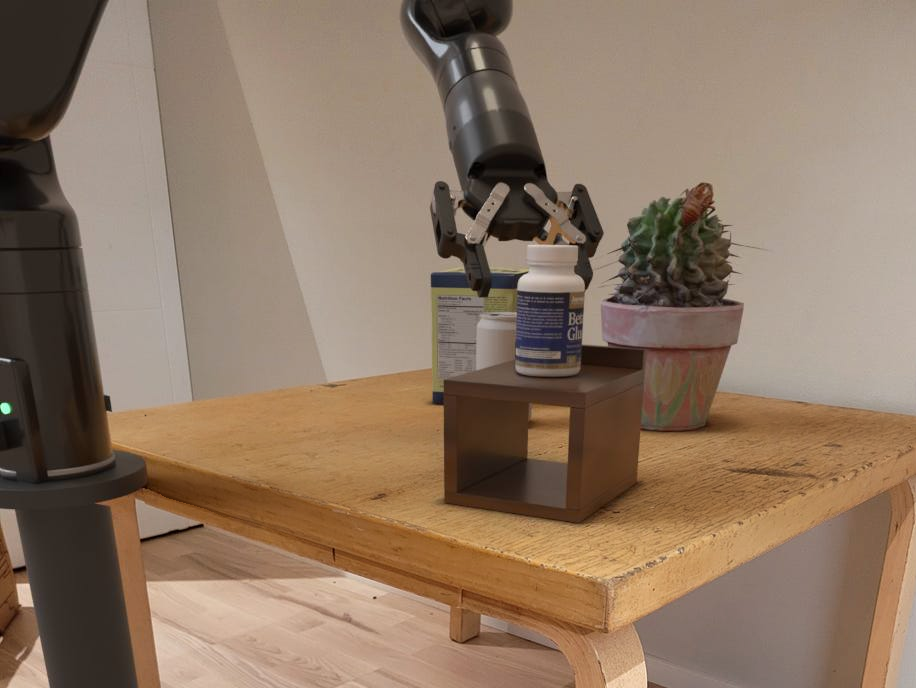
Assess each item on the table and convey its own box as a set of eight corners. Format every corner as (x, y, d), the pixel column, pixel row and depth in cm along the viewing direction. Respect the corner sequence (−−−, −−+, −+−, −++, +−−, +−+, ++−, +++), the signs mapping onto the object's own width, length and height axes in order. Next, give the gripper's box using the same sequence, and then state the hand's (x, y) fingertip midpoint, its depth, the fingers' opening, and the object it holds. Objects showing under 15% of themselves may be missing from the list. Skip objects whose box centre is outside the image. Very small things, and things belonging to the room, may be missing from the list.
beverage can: (490, 416, 114) (491, 309, 109) (540, 421, 111) (543, 312, 106) (466, 425, 108) (466, 314, 103) (517, 431, 106) (520, 317, 101)
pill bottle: (577, 379, 76) (584, 246, 72) (510, 377, 77) (513, 245, 73) (583, 369, 81) (589, 244, 77) (519, 367, 82) (523, 243, 78)
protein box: (534, 388, 132) (538, 267, 126) (512, 408, 118) (515, 273, 112) (460, 384, 134) (460, 265, 128) (430, 404, 120) (428, 271, 114)
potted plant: (656, 400, 124) (673, 187, 113) (775, 427, 109) (807, 184, 98) (544, 414, 114) (552, 183, 104) (657, 446, 100) (679, 180, 89)
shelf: (578, 523, 74) (586, 370, 70) (444, 502, 79) (443, 358, 75) (636, 482, 86) (646, 348, 81) (515, 467, 91) (518, 339, 86)
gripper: (421, 102, 79) (461, 257, 74) (581, 108, 83) (629, 256, 78) (408, 175, 86) (443, 322, 81) (555, 178, 90) (599, 318, 85)
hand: (535, 290), depth 79 cm, fingers open, 8 cm apart
